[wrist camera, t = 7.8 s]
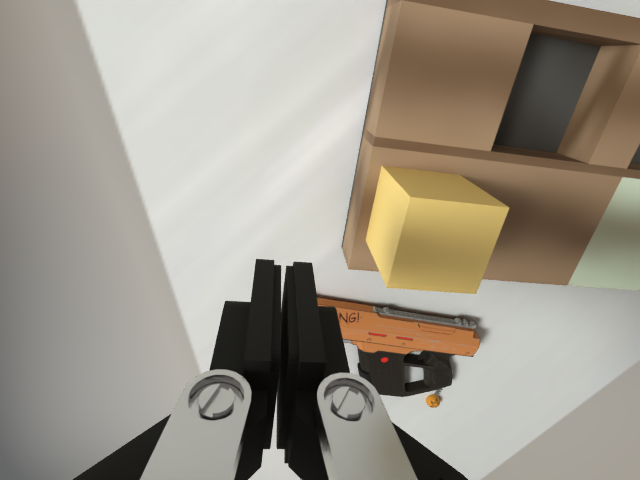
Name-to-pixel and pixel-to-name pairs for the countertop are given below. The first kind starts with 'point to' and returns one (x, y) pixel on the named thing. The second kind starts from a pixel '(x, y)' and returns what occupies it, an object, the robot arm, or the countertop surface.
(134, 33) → the countertop surface
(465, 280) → the block
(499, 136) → the wooden tray
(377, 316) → the toy gun
